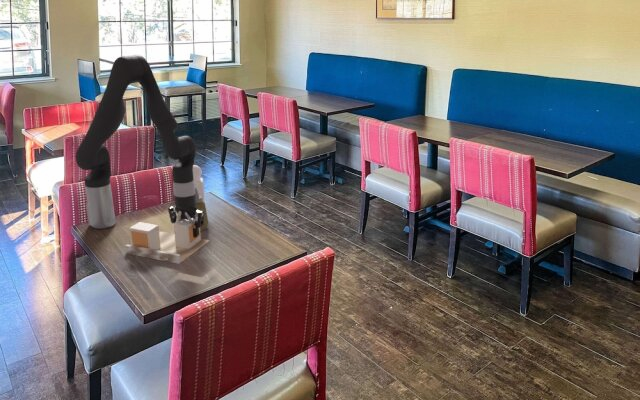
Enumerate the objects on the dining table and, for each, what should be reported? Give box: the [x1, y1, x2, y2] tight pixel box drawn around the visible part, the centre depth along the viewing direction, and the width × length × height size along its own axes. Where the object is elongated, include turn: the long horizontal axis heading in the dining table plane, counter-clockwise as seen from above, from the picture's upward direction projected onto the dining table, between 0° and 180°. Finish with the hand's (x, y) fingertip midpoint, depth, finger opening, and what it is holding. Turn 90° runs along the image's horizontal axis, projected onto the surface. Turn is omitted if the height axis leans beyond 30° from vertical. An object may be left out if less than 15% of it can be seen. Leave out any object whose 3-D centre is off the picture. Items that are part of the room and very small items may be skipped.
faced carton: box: [128, 221, 161, 250], centre depth 194 cm, size 6×8×9 cm
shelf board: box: [124, 230, 211, 264], centre depth 197 cm, size 22×20×4 cm
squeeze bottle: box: [195, 188, 209, 232], centre depth 211 cm, size 8×8×18 cm
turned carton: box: [173, 217, 202, 249], centre depth 199 cm, size 6×8×9 cm
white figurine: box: [193, 164, 205, 203], centre depth 225 cm, size 6×6×22 cm
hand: (188, 235), depth 199 cm, fingers closed on turned carton, 6 cm apart
